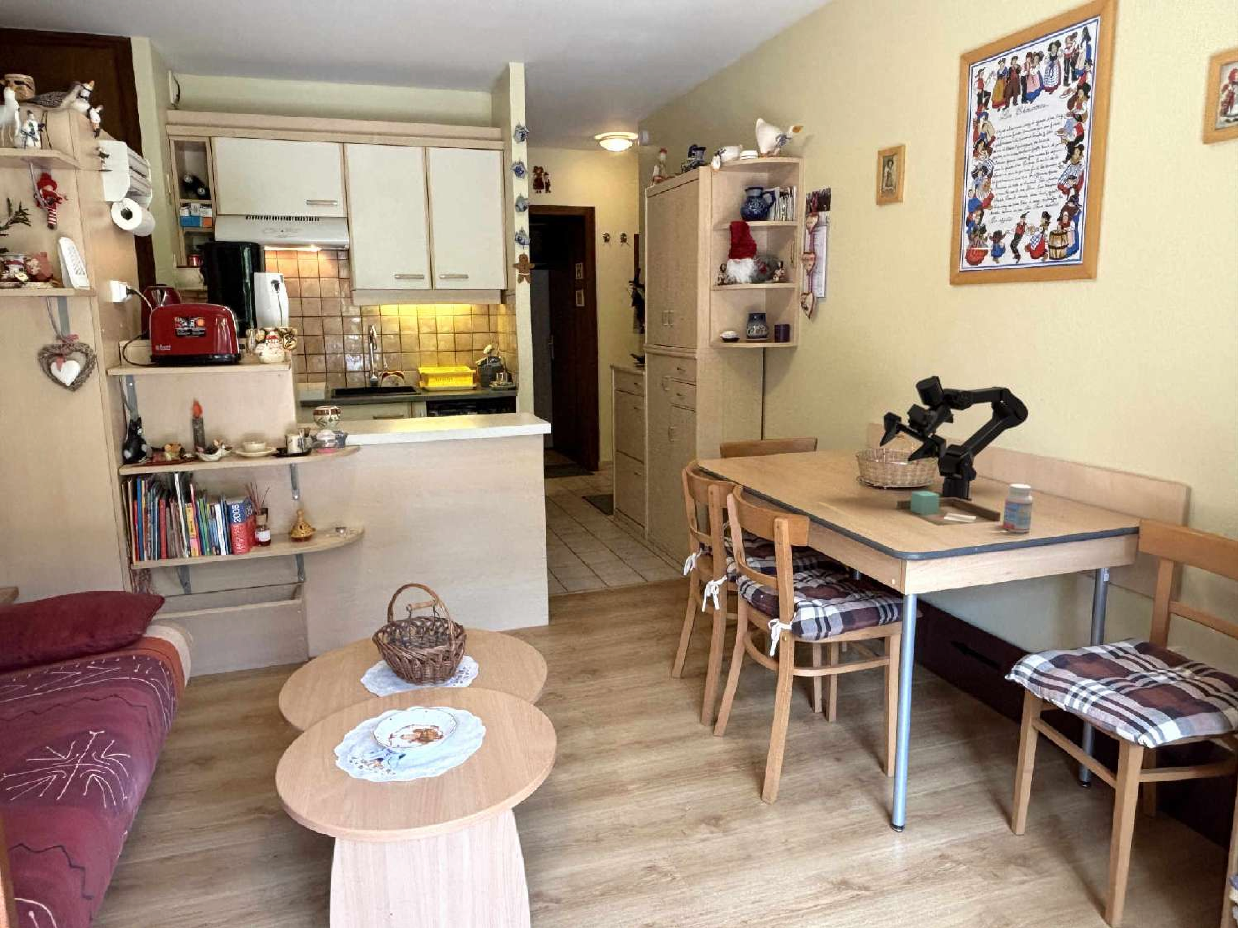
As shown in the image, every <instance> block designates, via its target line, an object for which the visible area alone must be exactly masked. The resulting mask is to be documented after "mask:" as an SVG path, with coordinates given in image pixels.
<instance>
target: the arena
mask: <svg viewBox="0 0 1238 928" xmlns="http://www.w3.org/2000/svg"><path fill="white" fill-rule="evenodd" d="M910 506H911V499H905V500H904V499H903V500H896V509H897V510H898V511H901V512H903V513H906V514H909V515H911V516H913V517H915V518H918V519H920V520H923V521H926V522H928V523H931V524H933V525H935V526H952V525H964V524H965V525H966V524H979V523H980V524H981V523H994V522H995V523H996V522H1000V521H1001V512H999V511H998V510H994V509H990V508H989V507H985V506H981V505H979V504H976V503H973V502H972V501H971V502H970V501H967V500H964V499H959V498H956V497H950V498H945V497H939V509H938V514H925V515H921V514H918V513H916V512H913V511H911V510H910Z"/></svg>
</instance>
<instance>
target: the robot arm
mask: <svg viewBox="0 0 1238 928" xmlns="http://www.w3.org/2000/svg"><path fill="white" fill-rule="evenodd" d="M915 388H916V391H917V393H918V396H919V398H920V401H921V403H922V406H923V405H924V406H927V409H926V408H925V407H922V406H920V405H918V404H916V403H913V404H912V405H911V406H910V408H909V409H908V411H907V412H906V415H908V417H909V418H908V419H907V423H908V424H905V423H903V422H902V421H903V420H902V417H901V416H900V415H898V414H896V413H894V412H892V411H888V412H887V413H885V414H884V415H883V416H882V417H883V429H884V433H883V436H882V438H881V440H880V441H879V447H883V446H885V445H886V444H888V443H889V442H891V441H892V440H894V439H895V438H896V435H898V434H900V433H901V432H902V433H904V434H906V435H908V436H909V437H911V438H912V439H914V440H916V441H918V442H920V443H922V444H921V446H919V447H918V448H917V449H916V450H915V451H913V453H911V454H910V455H909V456H908V458H907V459H906V460H907V462H908V463H909V462H910V463H911V462H915V461H917V460H918V461H919V460H922V459H929V458H932V459H935V458H937V467H938V473H939V476H940V477H943V478H944V479H943V483H942V489H941V490H942V491H941V498H950V497H956V498H959V499H962V500H965V501H968V502H970V501H971V502H972V501H973V498H971V497H970V495H969V494H970V485H971V484H970V482H972V481H976V477H977V474H978V473H977V471H976V469H975V468H974V467H973V466H974V461H975V457H976V456H977V455H978V454H979V453H981V452H982V451H983V450H984V449H985V448H986V447H987V446H989V445H990V444H991V443H992V442H994V441H995V439H997V438H998V437H999V436H1000V435H1001V434H1002V433H1004V431H1006V430H1009V429H1012V428H1016V427H1018V426H1020V425H1021V424H1023V423H1025V422H1026V420H1027V418H1028V416H1029V409H1028V408H1027V406H1026V404H1024V402H1023V401H1022V399H1020V398H1019V397H1018V396H1016V395H1014V394H1013V392H1011V390H1010V389H1009V388H1008V387H1006V386H1005V387H1003V386H995V385H994V386H991V387H985V388H984V387H983V388H977V389H976V388H974V389H968V390H966V389H960V388H959V389H957V388H950V387H949V388H947V387H945V388H943V386H942V383H941V380H940V377H939V376H938V375H932V376H930V377H926V378H924V379H922V380H918V382H917V383H916V384H915ZM987 403H990V408H991V410H992V415H991V418H990V419H989V420H988V421H987V422H985V424H984V425H983V426H982V427H980V428H979V429H978V430H977V431H975V432H974V434H972V435H971V436H970V437H969V438H967V440H965V441H964V442H963V443H962V444H961V445H960V444H954V443H951V444H949V445H947V439H946V438H944V437H942V436H940V435H938V434H936V433H937V429H938V428H939V427H940V426H941V425H942V424H944V423H946V424H954V421H955V419H954V416H955V415H954V413H953V412H952V411H951V410H953V411H960V412H961V411H965V410H967V409H970V408H971V407H972V406H974V405H978V404H987ZM929 436H930V437H929Z"/></svg>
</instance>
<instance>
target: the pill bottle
mask: <svg viewBox="0 0 1238 928" xmlns="http://www.w3.org/2000/svg"><path fill="white" fill-rule="evenodd" d="M1031 492H1032V487H1031V486H1030V485H1027V484H1020V483H1013V484H1010V485H1009V493H1008V494H1007V495H1006V497H1005V502H1004V513H1003V521H1002V527H1003V528H1004V530H1005V531H1007V532H1011V533H1015V532H1016V533H1015V534H1019V533H1020V534H1022V533H1025V532H1026V533H1029V532H1030V531H1031V522H1032V512H1033V506H1034V498H1033V497H1032V496H1031V494H1030V493H1031Z"/></svg>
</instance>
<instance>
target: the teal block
mask: <svg viewBox="0 0 1238 928" xmlns="http://www.w3.org/2000/svg"><path fill="white" fill-rule="evenodd" d="M910 493H911V494H910V495H911V497H910V500H911V506H910V510H911V511H913V512H916V513H918V514H921V515H925V514H938V509H939V498H940V494H937V493H935V492H932V491H929V490H921V491H911V492H910Z"/></svg>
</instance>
